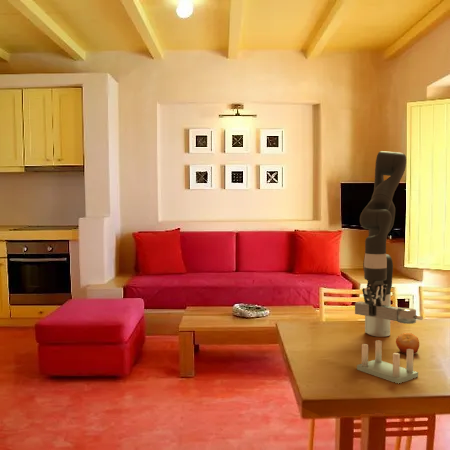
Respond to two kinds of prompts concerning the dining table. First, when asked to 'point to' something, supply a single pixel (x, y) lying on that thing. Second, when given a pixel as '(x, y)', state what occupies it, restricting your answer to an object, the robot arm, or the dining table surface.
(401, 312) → the ball-topped lever
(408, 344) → the fruit
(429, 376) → the dining table surface
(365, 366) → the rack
